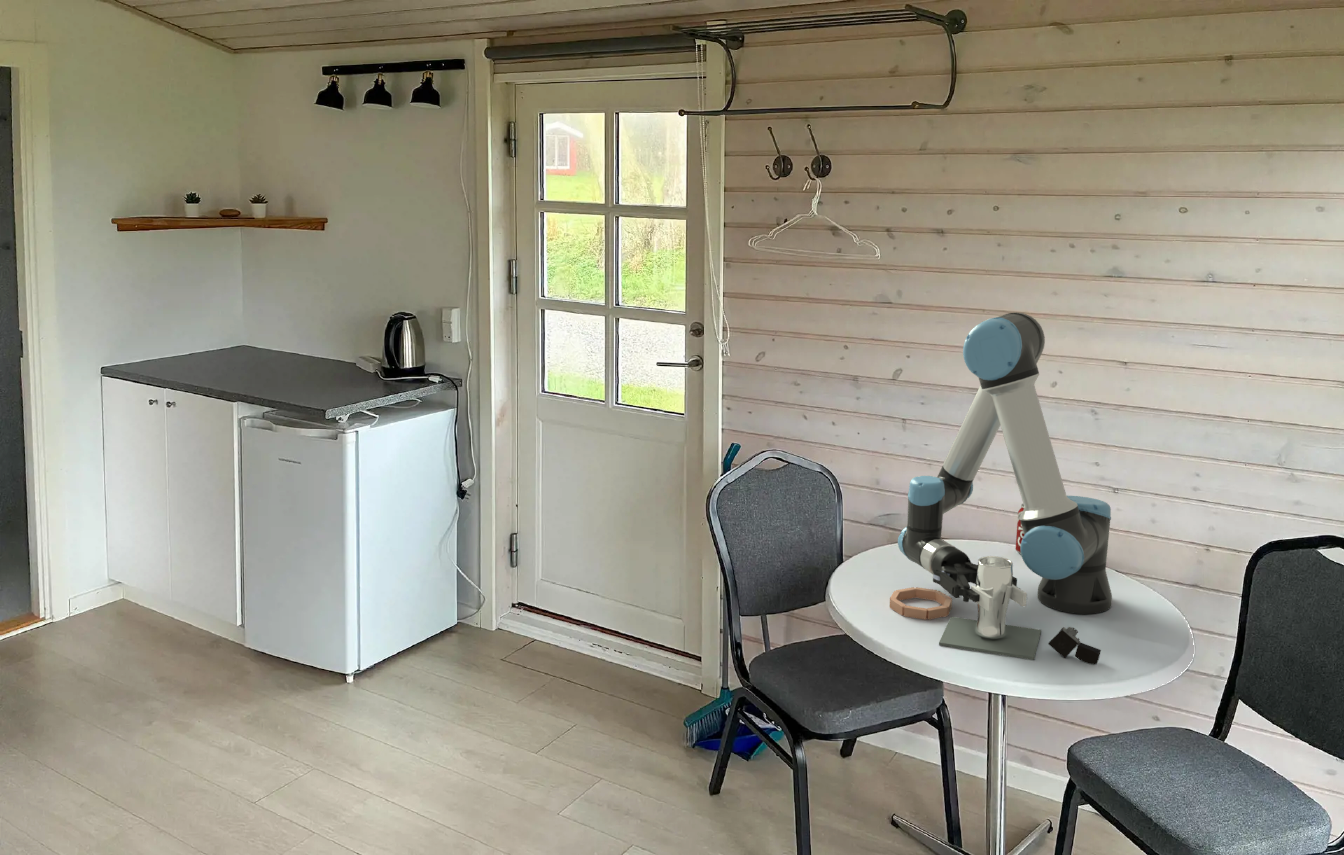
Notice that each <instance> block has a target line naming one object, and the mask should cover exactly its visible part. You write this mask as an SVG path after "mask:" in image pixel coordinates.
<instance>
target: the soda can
mask: <svg viewBox="0 0 1344 855" xmlns="http://www.w3.org/2000/svg"><path fill="white" fill-rule="evenodd" d="M1023 510H1024V504H1023V503H1021V507H1020V508H1019V510H1018V511H1017V520H1016V521H1017V524H1016V537H1015V538H1016V539H1015V551H1016V552H1017V553H1019V554H1020V555H1021V550H1020V547H1021V542H1022V539H1023V537H1024V532H1023V528H1022V525H1021V521H1020V515H1021V514H1022V512H1023Z"/></svg>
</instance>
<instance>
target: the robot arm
mask: <svg viewBox="0 0 1344 855" xmlns="http://www.w3.org/2000/svg"><path fill="white" fill-rule="evenodd" d="M1045 342H1046V337H1045V333H1044V330H1043V327H1042V326H1041V324H1040V322H1038V321H1037V320H1036V319H1035V318H1034V317H1033V316H1031V315H1028V314H1026V313H1023V312H1008V313H1005V314H1003V315H1000V316H995V317H991V318H988V319H986V320H984V321H981V322H980V323H978V324H977V325H975V326H974V327H973V328H972V329H971V330H970V331H969V332H968V334H967V336H966V337H965V340H964V344H963V348H962V356H963V360H964V364H965V366H966V367H967V369H968V370H969V371H970V372H971V373H972V374H973V375H975V376H976V377H977V378H978V380H979V384H980V386H979V387H978V390H977V392H976V394H975V396H974V398H973V399H972V403H971V404H970V407H969V409H968V411H967V413H966V415H965V417H964V420H963V422H962V424H961V425H960V428H959V430H958V431H957V434H956V436H955V439H954V440H953V443H952V445H951V447H950V449H949V451H948V454H947V456H946V458H945V459H944V461H943V464H942V466H941V469H940V470H939V472H938V474H937V477H936V476H933V475H920V476H915V477H912V478H911V480H910V482H909V486H908V487H909V488H908V493H907V500H908V502H907V522H906V524H907V525H906V527H904V528H903V529H902V530H901V532H900V534H899V536H898V538H897V546H898V549H899V551H900V552H901V553H902V554H903V555H904V556H905V557H906V559H908V560H910V561H911V562H912V563H915V564H917V565H918V566H920V567H922V568H923V569H924V570H926V571H928V572H929V573H930V574H931V575H933V577H932V582H933V583H935V584H937V585H939V586H940V587H941V588H943V589H944V590H945V591H946V592H947V593H948V594H950V596H952V598H954V599H959V598H960V597H962V602H965V603H968V602H970V601H972V602H974V603H975V604H979V605H980V606H982V607H983V608H985V609H986V610H988V611H992V604H993V597H991V596H990V595H988V594H987V593H985V592H984V591H982V590H981V589H979V588H977V587H976V574H977V567H978V564H977V563H976V564H975V563H973V562H972V561H971V560H970V558H969V556H968V555H967V554H966V553H965V552H964V551H962V550H961V549H959V548H957V547H956V546H955V545H952V544H951V543H949V542H947V541H946V540H944V539H943V538H942V532H943V531H942V530H943V519H944V518H943V517H944V514H945V513H946V514H947V513H948V512H949V511H951V510H952V509H954V508H956V507H957V506H960V505H962V504H964V503H965V502H966V501H967V500H968V499H969V498H970V497H971V496H972V494H973V491H974V480H975V478H976V475H977V473H978V472H979V470H980V468H981V466H982V463H983V462H984V460H985V457H986V455H987V453H988V451H989V450H990V447H991V445H992V443H993V441H994V439H995V437H996V435H997V433H998V431H999V429H1000V428H1001V432H1002V435H1003V439H1004V442H1005V445H1006V449H1007V452H1008V457H1009V459H1010V463H1011V466H1012V470H1013V473H1014V476H1015V480H1016V483H1017V487H1018V491H1019V494H1020V496H1021V501H1022V504H1024V510H1023V512H1022V514H1021V515H1020V521H1021V525H1022V528H1023V532H1024V537H1023V539H1022V542H1021V547H1020V550H1021V554H1020V555H1021V558H1022V561H1023V563H1024V564H1025V565H1026V567H1027V568H1028V569H1029V570H1030V571H1031V572H1032V573H1034V574H1036V575H1038V576H1039V577H1041V579H1040V581H1039V583H1038V584H1039V585H1038V588H1037V596H1036V597H1037V599H1038V601H1039V602H1041V604H1043V605H1044V606H1046V607H1048V608H1051V609H1054V610H1056V611H1059V612H1064V613H1069V614H1076V615H1077V614H1079V615H1093V614H1100V613H1104V612H1106V611H1108V610H1109V609H1111V607H1112V602H1113V601H1112V600H1113V594H1112V590H1111V587H1110V586H1111V585H1110V582H1109V579H1108V575H1107V570H1106V568H1107V559H1108V549H1109V548H1108V547H1109V539H1110V538H1109V537H1110V528H1111V527H1110V526H1111V520H1112V516H1111V515H1112V514H1111V513H1112V512H1111V510H1112V509H1111V507H1110V504H1108V502H1106V501H1104V500H1100V499H1099V498H1098V499H1097V498H1092V497H1087V496H1079V495H1067V493H1066V489H1065V487H1064V482H1063V479H1062V476H1061V473H1060V468H1059V466H1058V462H1057V459H1056V455H1055V451H1054V447H1053V445H1052V444H1053V443H1052V441H1051V439H1050V438H1051V437H1050V434H1049V431H1048V430H1049V429H1048V427H1047V424H1046V420H1045V416H1044V413H1043V410H1042V407H1041V404H1040V399H1039V397H1038V393H1037V388H1036V386H1035V385H1036V384H1035V383H1036V382H1037V379H1038V378H1039V376H1040V371H1039V368H1038V365H1037V363H1038V362H1039V360H1040V358H1041V355H1043V351H1044V349H1045ZM969 583H971V584H974V585H970V584H969ZM1027 596H1028V593H1027V592H1026V591H1024V590H1022V588H1020V587H1018V578H1017V577H1014V576H1013V583H1012V591H1011V596H1010V600H1012V602H1014V603H1017V604H1018V605H1019V606H1021V607H1027Z"/></svg>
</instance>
